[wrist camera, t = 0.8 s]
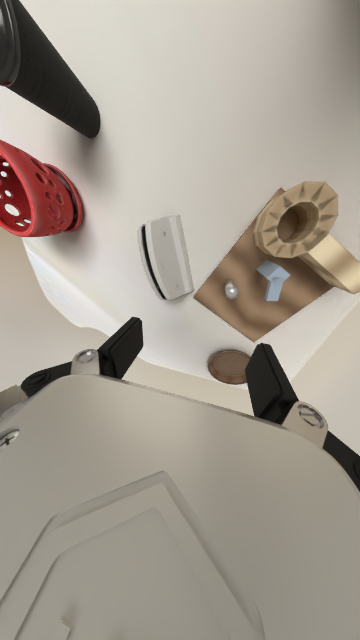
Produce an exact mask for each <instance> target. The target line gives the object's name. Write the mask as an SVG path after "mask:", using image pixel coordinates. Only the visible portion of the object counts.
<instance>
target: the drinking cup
mask: <svg viewBox="0 0 360 640" xmlns="http://www.w3.org/2000/svg"><path fill="white" fill-rule="evenodd" d="M0 86H5V87H7V88H8V89H10V90H12V91H13V92H15V93H17V94H18V95H20V96H21V97H23V98H25V99H26V100H28V101H30V102H31V103H33V104H34V105H36V106H38V107H39V108H41V109H43V110H44V111H46V112H48V113H49V114H51V115H52V116H54V117H56V118H57V119H59V120H61V121H62V122H64V123H65V124H67V125H69V126H70V127H72V128H74V129H75V130H77V131H79V132H80V133H82V134H83V135H85V136H87V137H89V138H93V137H95V136H96V135H97V134H98V131H99V128H100V115H99V111H98V108H97V105H96V103H95V101H94V100H93V99H92V97H91V96H90V95H89V93H88V92H87V90H86V89H85V88H84V86H83V85H82V84H81V82H80V81H79V80H78V78H77V77H76V76H75V74H74V73H73V72H72V70H71V69H70V68H69V66H68V65H67V64H66V62H65V61H64V60H63V58H62V57H61V56H60V54H59V53H58V52H57V50H56V49H55V48H54V46H53V45H52V44H51V42H50V41H49V40H48V38H47V37H46V36H45V34H44V33H43V32H42V30H41V29H40V28H39V26H38V25H37V24H36V22H35V21H34V20H33V18H32V17H31V16H30V14H29V13H28V12H27V10H26V9H25V8H24V6H23V5H22V4H21V2H20V1H19V0H0Z"/></svg>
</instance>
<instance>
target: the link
mask: <svg viewBox="0 0 360 640" xmlns="http://www.w3.org/2000/svg"><path fill="white" fill-rule="evenodd" d="M288 209H291V210H293V211H294V212H295V213H296V214H297V217H298V225H297V227H296V229H295V232H294V233H293V234H292V235H291V236H290V237H289V238H288V239H286V240H284V241H281V240H280V239H279V238H278V234H277V226H278V223H279V220H280V217H281V216H282V215H283V214H284V213H285V212H286V211H287V210H288ZM337 216H338V194H337V193H336V192H335V191H334V190H333V189H332V188H331V187H330V186H329V185H328V184H327V183H326V182H303V183H301V184H299V185H297V186H295V187H294V188H292V189H290V190H288V191H286V192H285V193H283V194H281V195H280V196H278V197H277V198H275V199H274V200H272V201H271V202H269V203H268V204H267V206H266V207H265V208H264V209H263V211H262V212H261V213H260V214H259V216H258V217H257V220H256V223H255V227H254V231H253V236H254V240H255V245H256V246H257V247H258V248H259V249H260V250H261V251H263V252H264V253H265V254H269V255H272V256H275V257H285V258H293V257H296V256H298V257H299V258H301V259H302V260H303V261H304V262H305V263H306V264H307V265H308V266H310V267H311V268H312V269H313V270H314V271H315V272H316V273H317V274H319V275H320V276H321V277H322V278H323V279H324V280H325V281H326V282H328V283H329V284H330V285H333V286H335V287H337V288H340V289H342V290H345V291H347V292H350V293H352V294H356V293H358V292H359V291H360V262H359V261H357V260H356V259H355V258H354V257H353V256H352V255H351V254H350V253H349V252H348V251H347V250H346V249H345V248H344V247H343V246H342V245H341V244H340V243H339V242H338V241H336V240H335V239H334V238H333V237H332V236H331V235H330V234H329V231H330V229H331V227H332V226H333V224H334V222H335V220H336V218H337Z"/></svg>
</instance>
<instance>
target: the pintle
mask: <svg viewBox="0 0 360 640" xmlns="http://www.w3.org/2000/svg"><path fill="white" fill-rule="evenodd" d="M224 285H225V291H226V296H227V297H228V298H229V299H234V298H236V297H237V296H238V290H237V287H236V285H235V282H234V280H233V279H227V280H226V281H225V282H224Z"/></svg>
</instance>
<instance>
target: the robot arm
mask: <svg viewBox="0 0 360 640" xmlns="http://www.w3.org/2000/svg"><path fill="white" fill-rule="evenodd" d="M142 347H143V332H142V321H141V320H140V318H136V317H132V318H131V319H130V320H128V321H127V322H126V323H125V324H124V325H123V326H122V327H121V328H120V329H119V330H118V331H117V332H116V333H115V334H114V335H112V336H111V337H110V338H109V339H108V340H107V341H106V342H105V343H104V344H103V345H102V346H101V347H100V348H99V349H98V350H97V351H96V350H94V349H87V350H84V351H81V352H79V353H78V354H76V355H75V356H74V358H73V361H71V362H68V363H65V364H61V365H58V366H55V367H51V368H48V369H44V370H41V371H38V372H35V373H33V374H32V375H30V376H29V377H27V378H26V379H25V380H24V381H23V382H22V384H21V385H20V386H17V385H15V386H13V387H10V388H8V389H6V390H4V391H2V392H0V640H360V456H359V455H358V454H356V453H355V452H354V451H353V450H351V449H350V448H349V447H348V446H347V445H345V444H344V443H343V442H342V441H340V440H339V439H338V438H337V437H336V436H334V435H333V434H332V433H331V432H329V431H328V424H327V421H326V420H325V418H324V417H323V415H322V414H321V413H320V412H319V411H318V410H316V409H315V408H314V407H312V406H311V405H309V404H307V403H305V402H300V401H299V400H298V398H297V396H296V394H295V392H294V390H293V388H292V386H291V384H290V382H289V380H288V378H287V376H286V374H285V372H284V370H283V368H282V367H281V365H280V363H279V361H278V359H277V357H276V355H275V353H274V351H273V349H272V347H271V346H270V345H269V344H264V343H261V344H260V345H259V344H258V345H257V346H256V348H255V350H254V352H253V354H252V356H251V358H250V360H249V362H248V364H247V366H246V368H245V375H246V379H247V384H248V389H249V393H250V398H251V403H252V407H253V412H254V416H255V417H254V416H251V415H248V414H244V413H241V412H237V411H234V410H230V409H227V408H223V407H219V406H216V405H213V404H209V403H205V402H202V401H198V400H195V399H191V398H187V397H184V396H180V395H176V394H173V393H169V392H166V391H162V390H159V389H155V388H151V387H147V386H144V385H140V384H136V383H133V382H129V381H125V380H121V379H122V377H123V376H124V374H125V373H126V371H127V370H128V368H129V367H130V365H131V364H132V362H133V361H134V359H135V358H136V357H137V355H138V354H139V352H140V351H141V349H142Z"/></svg>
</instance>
